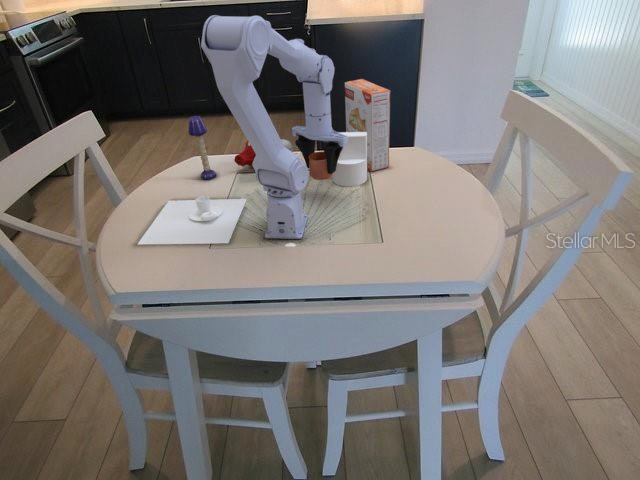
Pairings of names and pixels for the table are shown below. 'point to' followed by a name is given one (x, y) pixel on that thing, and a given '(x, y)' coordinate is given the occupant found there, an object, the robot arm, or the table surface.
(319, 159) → the pot
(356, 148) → the cylinder with rectangular tab
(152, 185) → the table surface
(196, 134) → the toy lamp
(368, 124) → the cracker box
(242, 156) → the white lump red frill
